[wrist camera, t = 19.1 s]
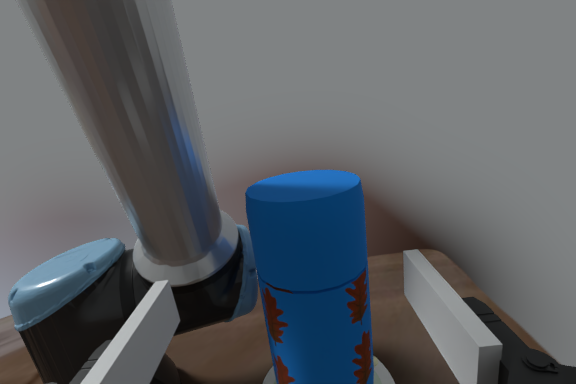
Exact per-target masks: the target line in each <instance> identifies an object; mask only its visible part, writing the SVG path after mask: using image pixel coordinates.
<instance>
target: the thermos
mask: <svg viewBox="0 0 576 384" xmlns="http://www.w3.org/2000/svg"><path fill="white" fill-rule="evenodd" d="M245 194H246V213H247V219H248V224H249V230H250V236H251V241H252V247H253V253H254V258H255V264H256V270H257V275H258V281H259V287H260V293H261V298H262V304H263V310H264V315H265V321H266V327H267V332H268V338H269V344H270V349H271V355H272V361H273V366H274V372H275V378H276V382H277V384H374V362H373V345H372V328H371V311H370V295H369V278H368V261H367V244H366V227H365V211H364V196H363V191H362V186H361V180H360V178H359V177H358V176H357V175H356V174H353V173H349V172H346V171H337V170H312V171H300V172H294V173H288V174H282V175H278V176H274V177H270V178H267V179H264V180H262V181H259V182H256V183H255V184H253V185H252V186H250V187H248V189H247V191H246V193H245Z"/></svg>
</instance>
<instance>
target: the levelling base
mask: <svg viewBox="0 0 576 384" xmlns="http://www.w3.org/2000/svg"><path fill="white" fill-rule="evenodd" d="M373 362H374V384H395V382H394V380H393V378H392V376H391V375H390V373H389V372H388V370H387V369H386V368H385V366H384V365H383V364H382V363H381V362H380V361H379V360H378V359H377V358H376V357H375V356H373ZM262 384H277V382H276V378H275V372H274V366H272V368H271V369H270V370H269V372H268V373H267V375H266V377H265V379H264V381H263V383H262Z"/></svg>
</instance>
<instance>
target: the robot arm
mask: <svg viewBox="0 0 576 384" xmlns="http://www.w3.org/2000/svg"><path fill="white" fill-rule="evenodd" d="M16 2H17V4H18V6H19V8H20V10H21V12H22V14H23V15H24V17H25V19H26V21H27V23H28V25H29V27H30V29H31V31H32V33H33V35H34V37H35V38H36V41H37V43H38V45H39V46H40V48H41V50H42V52H43V54H44V56H45V58H46V60H47V62H48V64H49V66H50V68H51V70H52V72H53V74H54V76H55V77H56V79H57V81H58V83H59V85H60V87H61V89H62V91H63V93H64V95H65V97H66V99H67V101H68V102H69V105H70V107H71V108H72V110H73V112H74V114H75V116H76V118H77V120H78V122H79V124H80V126H81V128H82V130H83V132H84V134H85V136H86V138H87V139H88V141H89V143H90V145H91V147H92V149H93V151H94V153H95V155H96V157H97V159H98V161H99V163H100V165H101V167H102V169H103V170H104V172H105V174H106V176H107V178H108V180H109V182H110V184H111V186H112V188H113V190H114V192H115V194H116V196H117V198H118V200H119V201H120V203H121V205H122V207H123V209H124V211H125V213H126V215H127V216H128V219H129V221H130V223H131V225H132V227H133V229H134V231H135V232H136V234H137V236H138V240H137V241H136V244H135V247H134V249H131V250H125V244H123V243H122V242H121V241H120V240H119V239H117V238H112V239H110V238H105V239H101V240H97V241H93V242H90V243H87V244H84V245H81V246H79V247H76V248H74V249H71V250H69V251H66V252H64V253H62V254H60V255H58V256H56V257H54V258H52V259H50V260H48V261H46V262H44V263H43V264H41V265H39V266H38V267H36V268H34V269H33V270H31V271H30V272H29V273H27V274H26V275H25V276H24V277H22V278H21V279H20V280H19V281H18V282H17V283H16V284H15V285H14V286H13V288H12V289H11V291H10V293H9V297H8V303H9V307H10V310H11V313H12V316H13V319H14V322H15V329H16V330H17V332H18V331H19V333H20V335H21V337H22V339H23V341H24V343H25V345H26V347H27V350H28V352H29V354H30V356H31V358H32V360H33V362H34V364H35V366H36V369H37V371H38V373H39V375H40V377H41V379H42V381H43V383H44V384H181V381H180V377H179V374H178V371H177V368H176V366H175V364H174V362H173V361H172V360H171V359H170V358H169V357H168V356H167V354H166V353H165V351H166V349H167V347H168V345H169V343H170V341H171V339H172V337H173V336H176V335H179V334H183V333H186V332H190V331H193V330H196V329H200V328H203V327H207V326H210V325H214V324H217V323H221V322H230V321H232V320H233V319H234V318H237V317H240V316H242V315H245V314H248V313H249V312H251V311H252V310H253V309H254V307H255V305H256V302H257V296H258V281H257V273H256V264H255V258H254V253H253V247H252V241H251V237H250V233H249V231H248V229H247V228H246V227H245V226H243V225H237V224H235V222H234V221H233V219H232V218H231V217H230V216H229V215H228V214H227V213H225V212H224V211H222V210H220V209H219V205H218V200H217V196H216V192H215V188H214V183H213V179H212V175H211V170H210V166H209V161H208V157H207V153H206V148H205V144H204V140H203V136H202V131H201V127H200V122H199V118H198V114H197V109H196V105H195V101H194V96H193V92H192V88H191V84H190V80H189V75H188V71H187V66H186V62H185V58H184V53H183V49H182V45H181V40H180V36H179V32H178V28H177V23H176V18H175V14H174V10H173V6H172V1H171V0H16ZM403 257H404V294H405V296H406V297H407V299H408V300H409V302H410V304H411V305H412V307H413V309H414V310H415V312H416V313H417V315H418V317H419V318H420V320H421V322H422V323H423V325H424V326H425V328H426V330H427V331H428V333H429V335H430V336H431V338H432V339H433V341H434V343H435V344H436V346H437V347H438V349H439V351H440V352H441V354H442V356H443V357H444V359H445V360H446V362H447V364H448V365H449V367H450V369H451V370H452V372H453V373H454V375H455V377H456V378H457V380H458V381H459V383H460V384H576V367H571V366H565V365H561V364H558V363H557V362H556V360H554V359H553V358H551V357H550V356H549V355H547V354H545V353H543V352H540V351H538V350H535V349H530V348H529V347H528V346H527V345H526V344H525V343H524V342H523V341H522V340H521V339H520V338H519V337H518V336H517V335H516V334H515V333H514V332H513V331H512V330H511V329H510V328H509V327H508V326H507V325H506V324H505V323H504V322H502V321H501V319H500V318H499V317H498V316H497V315H496V314H494V312H493V311H492V310H491V309H490V308H489V307H488V306H487V305H486V304H485V303H483V302H481V301H480V300H478V299H476V298H474V297H468V298H461V297H460V296H459V295H458V294H457V293H456V292H455V291H454V290H453V289H452V287H451V286H450V285H449V284H448V283H447V282H446V281H445V280H444V278H443V277H442V276H441V275H440V274H439V273H438V272H437V271H436V270H435V268H434V267H433V266H432V265H431V264H430V263H429V262H428V261H427V259H426V258H425V257H424V256H423V255H422V254H421V253H420V252H419V251H418V250H417V249H416V250H408V251H403Z"/></svg>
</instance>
